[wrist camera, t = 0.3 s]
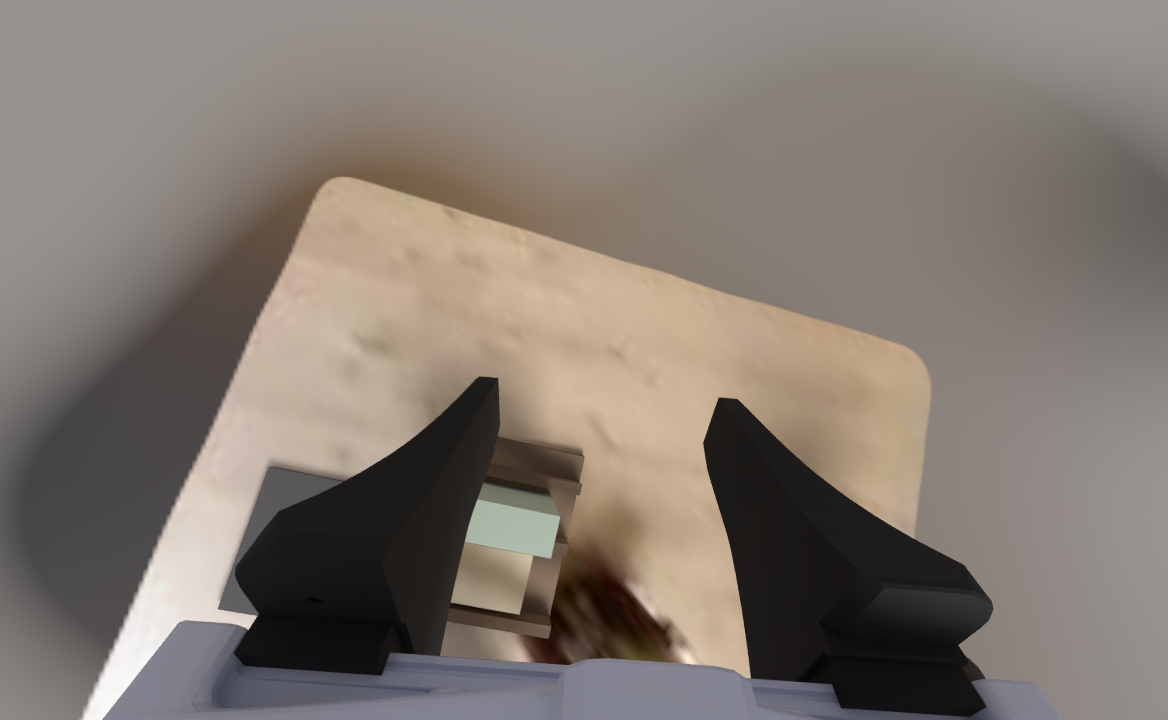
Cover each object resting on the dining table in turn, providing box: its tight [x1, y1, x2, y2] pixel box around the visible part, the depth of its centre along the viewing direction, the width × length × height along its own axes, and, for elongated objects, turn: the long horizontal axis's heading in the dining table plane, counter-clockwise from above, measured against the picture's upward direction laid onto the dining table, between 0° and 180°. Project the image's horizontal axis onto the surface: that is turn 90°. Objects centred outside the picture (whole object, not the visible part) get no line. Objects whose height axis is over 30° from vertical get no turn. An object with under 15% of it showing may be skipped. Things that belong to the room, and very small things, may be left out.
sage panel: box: [465, 481, 560, 559], centre depth 35 cm, size 3×9×10 cm, turn 77°
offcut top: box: [451, 542, 533, 615], centre depth 37 cm, size 5×8×1 cm, turn 77°
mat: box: [218, 467, 344, 616], centre depth 37 cm, size 12×12×1 cm
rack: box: [447, 437, 584, 639], centre depth 39 cm, size 16×14×3 cm
